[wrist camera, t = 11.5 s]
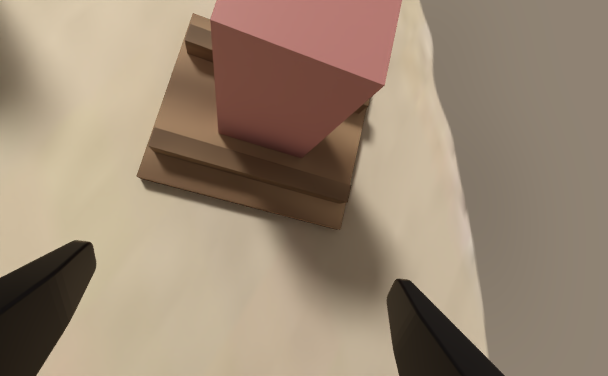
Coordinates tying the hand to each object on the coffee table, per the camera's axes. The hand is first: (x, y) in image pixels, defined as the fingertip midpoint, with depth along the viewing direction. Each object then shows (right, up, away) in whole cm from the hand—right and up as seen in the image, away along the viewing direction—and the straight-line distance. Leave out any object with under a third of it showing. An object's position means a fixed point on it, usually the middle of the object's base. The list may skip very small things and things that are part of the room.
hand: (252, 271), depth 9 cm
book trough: (-1, +7, +13) cm, 15 cm away
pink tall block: (-1, +7, +13) cm, 15 cm away
